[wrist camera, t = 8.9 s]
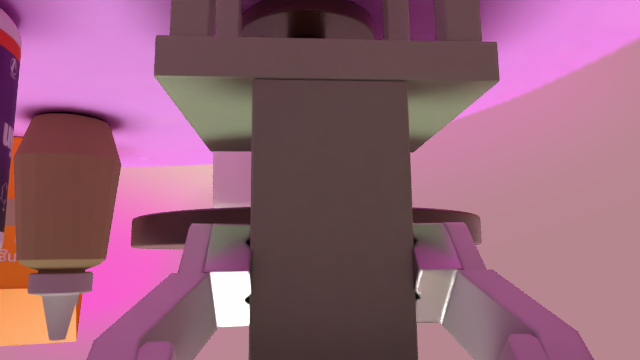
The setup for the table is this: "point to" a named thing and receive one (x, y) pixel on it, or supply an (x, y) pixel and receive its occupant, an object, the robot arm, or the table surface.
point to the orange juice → (22, 287)
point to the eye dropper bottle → (231, 179)
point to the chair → (327, 162)
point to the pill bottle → (7, 104)
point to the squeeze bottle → (64, 208)
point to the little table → (281, 22)
